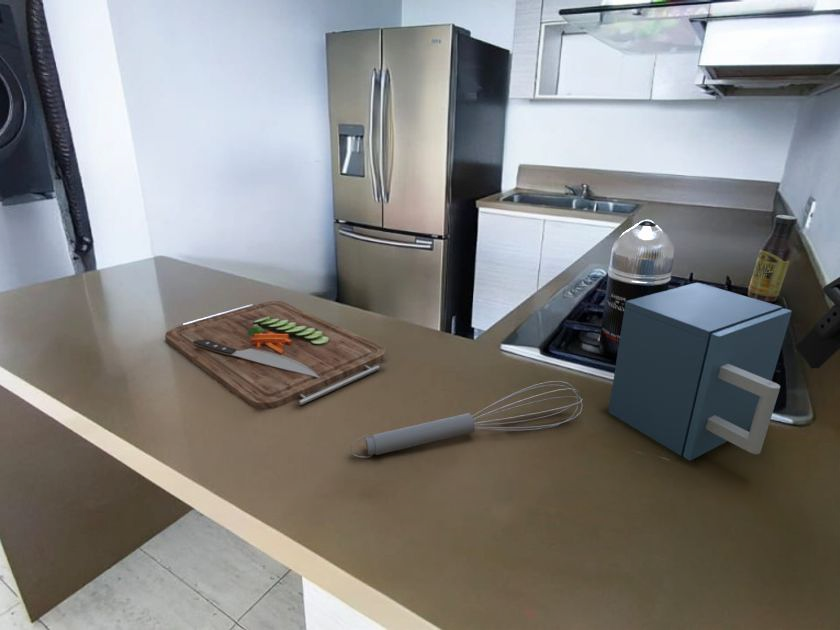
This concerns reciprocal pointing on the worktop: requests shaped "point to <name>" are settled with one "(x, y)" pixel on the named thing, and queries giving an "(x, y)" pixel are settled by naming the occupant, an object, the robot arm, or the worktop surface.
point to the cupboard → (671, 356)
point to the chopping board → (275, 352)
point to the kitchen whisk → (448, 427)
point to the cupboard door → (738, 386)
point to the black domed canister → (634, 276)
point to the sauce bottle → (773, 261)
